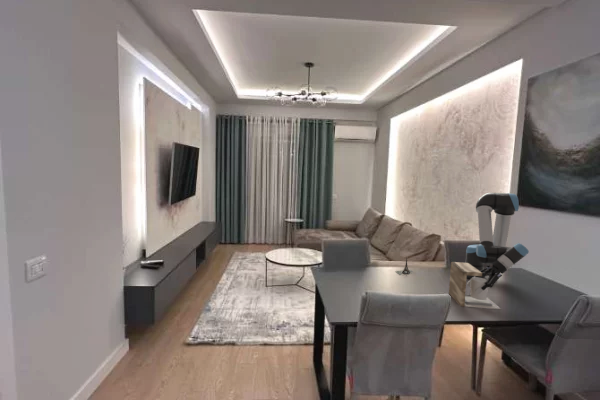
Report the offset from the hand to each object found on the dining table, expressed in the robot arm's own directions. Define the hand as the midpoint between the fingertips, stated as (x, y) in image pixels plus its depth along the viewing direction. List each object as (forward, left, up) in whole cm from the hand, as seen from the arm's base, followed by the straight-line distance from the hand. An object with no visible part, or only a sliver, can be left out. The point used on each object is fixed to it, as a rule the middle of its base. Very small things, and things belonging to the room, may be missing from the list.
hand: (472, 288), depth 188 cm
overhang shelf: (+4, 0, -7) cm, 9 cm away
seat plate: (-3, 0, -7) cm, 8 cm away
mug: (-3, 0, -5) cm, 5 cm away
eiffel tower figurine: (+28, -49, -8) cm, 57 cm away
